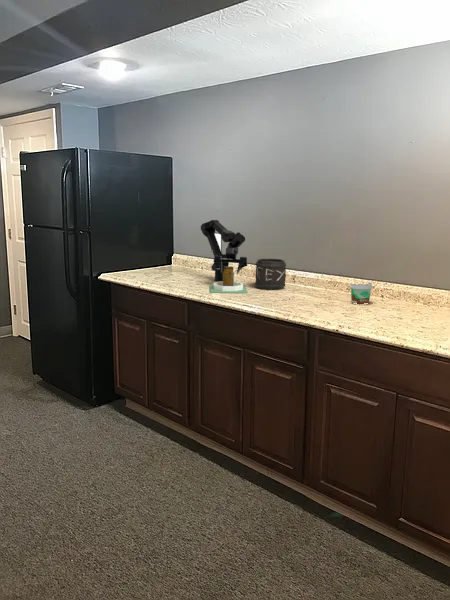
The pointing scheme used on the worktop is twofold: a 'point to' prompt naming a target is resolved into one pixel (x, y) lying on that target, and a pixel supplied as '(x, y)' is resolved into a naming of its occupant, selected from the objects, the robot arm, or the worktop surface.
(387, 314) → the worktop surface
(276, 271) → the lettered dark canister
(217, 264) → the robot arm
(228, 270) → the yellow bottle can
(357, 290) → the food container
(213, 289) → the green mat
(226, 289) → the white octagonal fence
